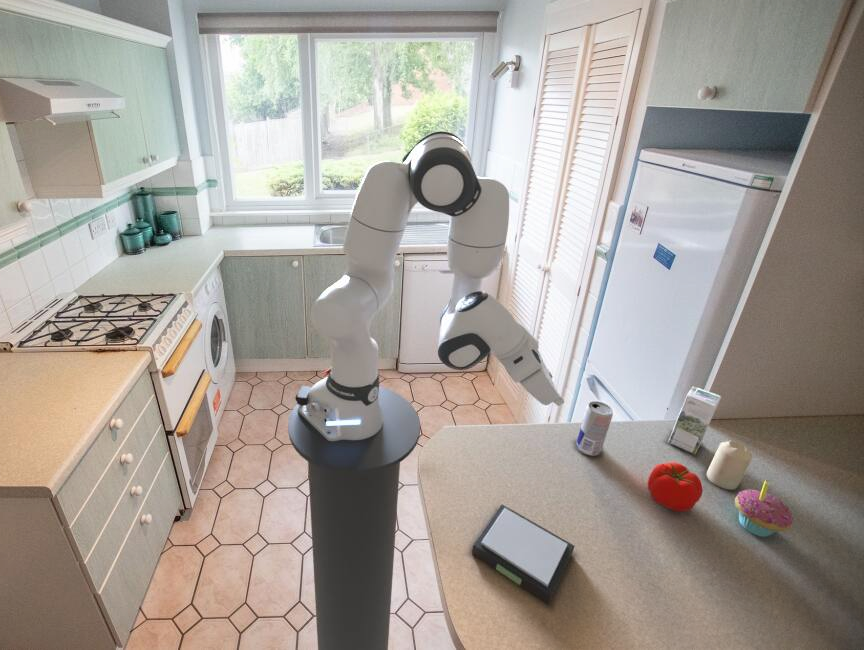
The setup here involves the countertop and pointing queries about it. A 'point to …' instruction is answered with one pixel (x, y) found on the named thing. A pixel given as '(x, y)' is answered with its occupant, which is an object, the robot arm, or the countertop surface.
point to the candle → (729, 464)
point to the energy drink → (594, 428)
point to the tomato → (674, 486)
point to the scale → (524, 552)
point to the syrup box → (694, 419)
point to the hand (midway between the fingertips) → (554, 389)
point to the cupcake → (762, 512)
